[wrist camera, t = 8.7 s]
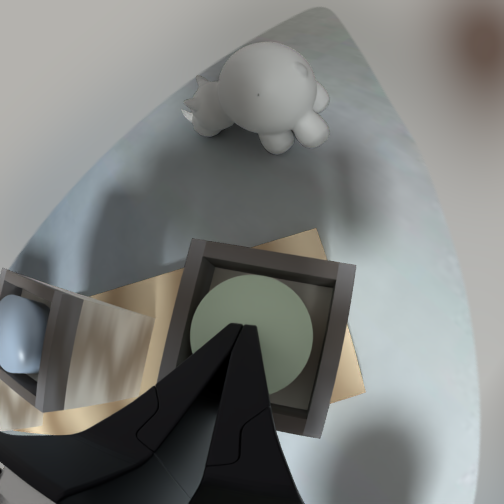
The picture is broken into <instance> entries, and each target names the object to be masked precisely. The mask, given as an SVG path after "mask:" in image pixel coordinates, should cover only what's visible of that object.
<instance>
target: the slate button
mask: <svg viewBox="0 0 504 504" xmlns="http://www.w3.org/2000/svg"><path fill="white" fill-rule="evenodd" d="M49 313H50V309H49V307H48V306H46V305H45V304H44V303H41V302H38V301H34V300H31V299H27V298H23V297H20V296H16V295H7V296H6V297H4V298H3V299H2V300H1V301H0V365H1V367H2V368H3V369H4V370H6V371H7V372H10V373H29V374H39V367H40V360H41V354H42V348H43V342H44V337H45V332H46V327H47V322H48V317H49Z"/></svg>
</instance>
